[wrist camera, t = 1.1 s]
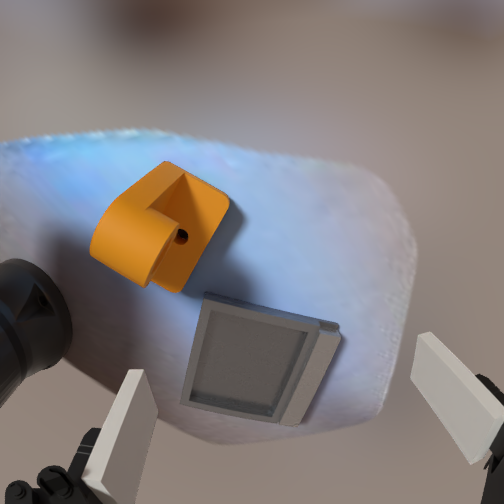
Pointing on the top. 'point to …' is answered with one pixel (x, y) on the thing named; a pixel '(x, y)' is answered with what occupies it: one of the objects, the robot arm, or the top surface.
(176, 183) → the bracket
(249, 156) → the top surface
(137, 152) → the top surface
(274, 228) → the top surface
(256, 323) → the tray
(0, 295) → the robot arm
